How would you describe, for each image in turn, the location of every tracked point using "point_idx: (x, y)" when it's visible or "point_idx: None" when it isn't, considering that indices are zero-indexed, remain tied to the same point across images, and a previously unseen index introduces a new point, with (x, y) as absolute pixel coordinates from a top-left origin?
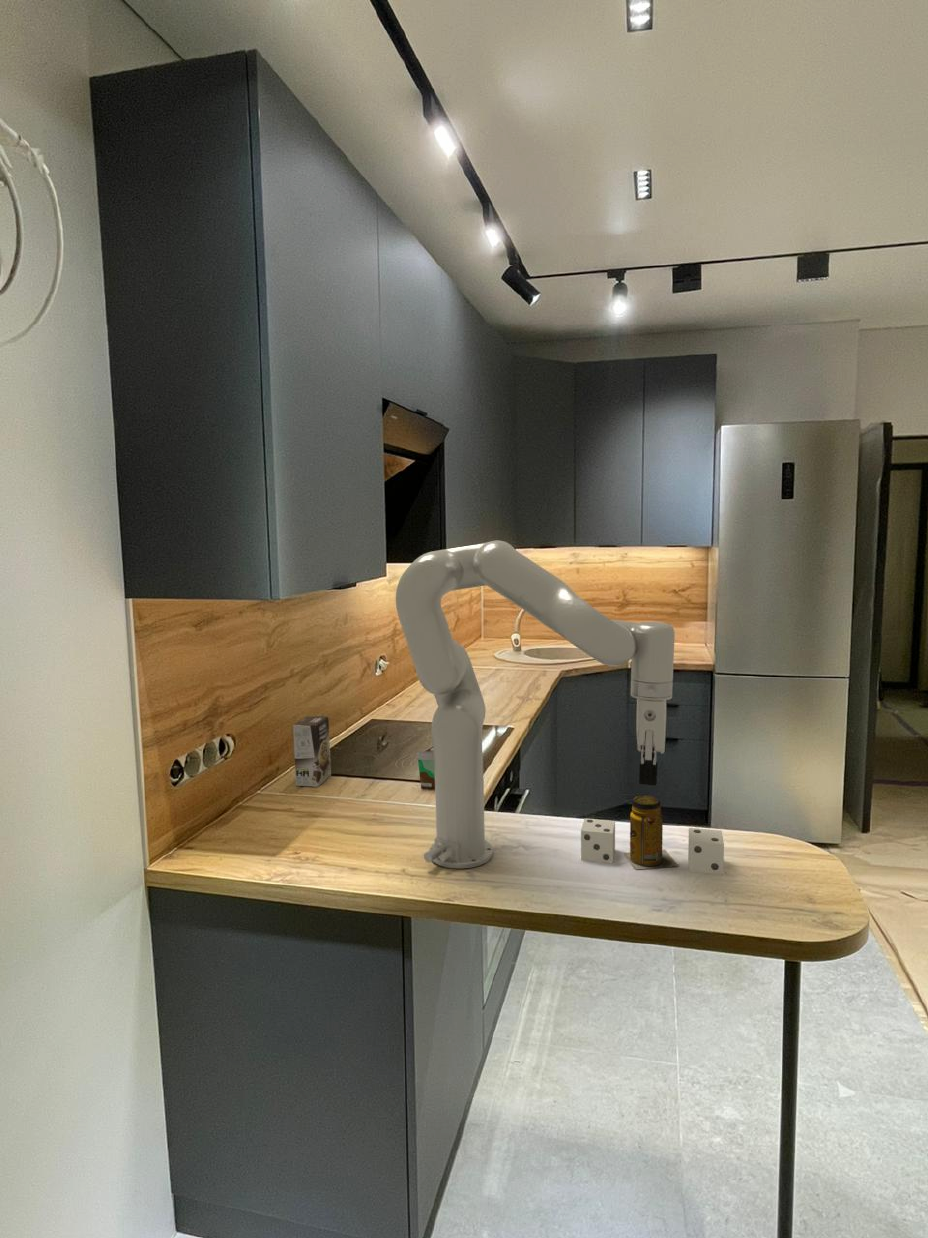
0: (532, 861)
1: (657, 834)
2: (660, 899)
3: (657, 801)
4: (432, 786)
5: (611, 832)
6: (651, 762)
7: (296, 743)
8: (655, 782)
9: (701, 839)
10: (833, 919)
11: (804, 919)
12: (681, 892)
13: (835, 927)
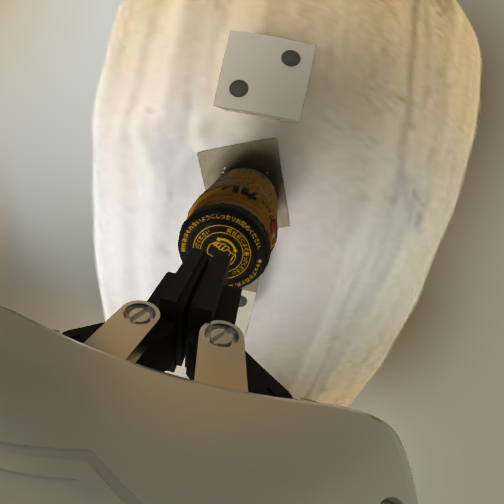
0: (256, 360)
1: (270, 197)
2: (393, 206)
3: (230, 218)
4: None
5: (251, 294)
6: (258, 371)
7: None
8: (229, 264)
9: (290, 89)
10: None
11: (438, 22)
12: (374, 163)
13: (448, 3)
